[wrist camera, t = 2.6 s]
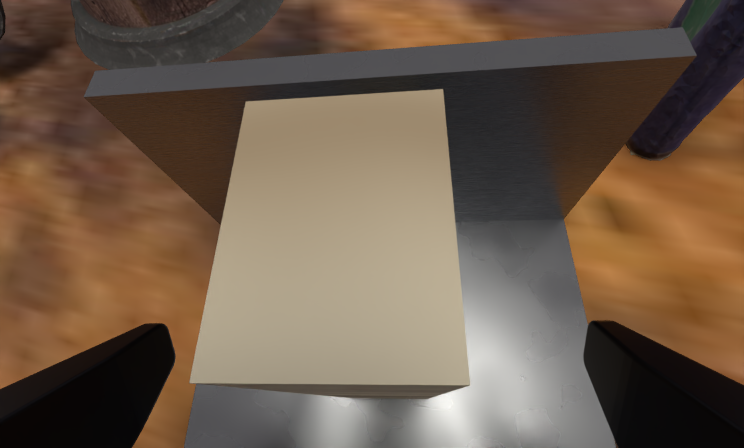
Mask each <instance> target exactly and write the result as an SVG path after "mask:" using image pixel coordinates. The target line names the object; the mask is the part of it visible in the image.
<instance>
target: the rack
mask: <svg viewBox="0 0 744 448" xmlns="http://www.w3.org/2000/svg"><path fill="white" fill-rule="evenodd" d="M696 56H697V55H696V53H695V51H694V49H693V47H692V45H691V43H690V41H689V39H688V37H687V35H686V33H685V31H684V29H683V27H681V28H667V29H654V30H640V31H627V32H613V33H600V34H586V35H573V36H560V37H546V38H533V39H519V40H506V41H492V42H479V43H465V44H452V45H438V46H425V47H411V48H398V49H384V50H371V51H357V52H344V53H330V54H317V55H303V56H290V57H276V58H263V59H250V60H236V61H223V62H209V63H196V64H182V65H169V66H155V67H142V68H128V69H115V70H101V71H95V73H94V75H93V77H92V79H91V82H90V84H89V86H88V88H87V91H86V93H85V95H84V98H85V99H86V100H87V101H88V102H90V103H91V104H92V105H93V106H94V107H95V108H96V109H97V110H98V111H99V112H100V113H101V114H102V115H104V116H105V117H106V118H107V119H108V120H109V121H110V122H111V123H112V124H113V125H114V126H115V127H116V128H117V129H119V130H120V131H121V132H122V133H123V134H124V135H125V136H126V137H127V138H128V139H129V140H130V141H131V142H132V143H134V144H135V145H136V146H137V147H138V148H139V149H140V150H141V151H142V152H143V153H144V154H145V155H146V156H147V157H149V158H150V159H151V160H152V161H153V162H154V163H155V164H156V165H157V166H158V167H159V168H160V169H161V170H163V171H164V172H165V173H166V174H167V175H168V176H169V177H170V178H171V179H172V180H173V181H174V182H175V183H176V184H178V185H179V186H180V187H181V188H182V189H183V190H184V191H185V192H186V193H187V194H188V195H189V196H190V197H191V198H193V199H194V200H195V201H196V202H197V203H198V204H199V205H200V206H201V207H202V208H203V209H204V210H205V211H207V212H208V213H209V214H210V215H211V216H212V217H213V218H214V219H215V220H216V221H217V222H218V223H219V224H220V225H221V222H222V217H223V212H224V207H225V202H226V197H227V193H228V188H229V183H230V178H231V173H232V168H233V163H234V158H235V153H236V148H237V143H238V138H239V133H240V128H241V123H242V118H243V113H244V108H245V103H246V102H248V101H263V100H279V99H295V98H311V97H326V96H342V95H358V94H373V93H389V92H405V91H421V90H436V89H443V94H444V105H445V116H446V126H447V137H448V148H449V159H450V170H451V181H452V192H453V203H454V214H455V225H456V235H457V246H458V257H459V268H460V279H461V290H462V301H463V312H464V323H465V334H466V344H467V355H468V366H469V377H470V386H467V387H464V388H460V389H457V390H454V391H451V392H448V393H445V394H442V395H439V396H436V397H433V398H430V399H381V398H344V397H333V396H322V395H312V394H301V393H290V392H279V391H268V390H258V389H247V388H236V387H225V386H215V385H204V384H196V388H195V393H194V398H193V403H192V408H191V413H190V419H189V424H188V429H187V434H186V439H185V445H184V448H616V446H615V442H614V438H613V434H612V432H611V430H610V427H609V425H608V423H607V420H606V418H605V415H604V413H603V410H602V408H601V405H600V403H599V400H598V398H597V395H596V393H595V390H594V388H593V385H592V383H591V381H590V378H589V376H588V373H587V371H586V368H585V365H584V361H583V352H584V346H585V339H586V333H587V327H588V324H587V319H586V315H585V310H584V306H583V302H582V297H581V293H580V289H579V284H578V280H577V275H576V271H575V267H574V262H573V258H572V253H571V249H570V245H569V240H568V236H567V232H566V227H565V223H564V218H565V217H566V216H567V214H568V213H569V212H570V211H571V209H572V208H573V207H574V206H575V205H576V203H577V202H578V201H579V200H580V198H581V197H582V196H583V195H584V194H585V192H586V191H587V190H588V189H589V187H590V186H591V185H592V184H593V182H594V181H595V180H596V179H597V178H598V176H599V175H600V174H601V173H602V171H603V170H604V169H605V168H606V167H607V165H608V164H609V163H610V162H611V160H612V159H613V158H614V157H615V156H616V154H617V153H618V152H619V151H620V149H621V148H622V147H623V146H624V144H625V143H626V142H627V141H628V140H629V138H630V137H631V136H632V135H633V133H634V132H635V131H636V130H637V129H638V127H639V126H640V125H641V124H642V122H643V121H644V120H645V119H646V117H647V116H648V115H649V114H650V113H651V111H652V110H653V109H654V108H655V106H656V105H657V104H658V103H659V102H660V100H661V99H662V98H663V97H664V95H665V94H666V93H667V92H668V91H669V89H670V88H671V87H672V86H673V84H674V83H675V82H676V81H677V79H678V78H679V77H680V76H681V75H682V73H683V72H684V71H685V70H686V68H687V67H688V66H689V65H690V64H691V62H692V61H693V60H694V59H695V57H696Z"/></svg>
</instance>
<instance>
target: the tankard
mask: <svg viewBox="0 0 744 448" xmlns="http://www.w3.org/2000/svg"><path fill="white" fill-rule="evenodd" d="M282 2H283V0H71V7H72V12H73V16H74V18H75V20H76V21H75V35H76V40H77V44H78V45H79V47H80V48H81V50H82V52H83V53H84V55H86V56H87V57H88V58H89V59H91V60H92V61H93V62H94V63H95V64H97V65H100V66H102V67H104V68H107V69H109V70H115V69H128V68H142V67H155V66H169V65H182V64H196V63H206V62H208V61H211V60H213V59H215V58H218V57H220V56H223V55H224V54H226V53H228V52H230V51H231V50H233V49H235V48H236V47H238V46H240V45H241V44H243V43H245V42H246V41H247V40H248V39H250V38H251V37H252V36H253V35H255V34H256V33H257V32H259V31H260V30H261V29H262V28H263V27H264V26H265V25H266V24H267V23H268V21H269V20H270V19H271V18H272V17H273V16H274V15H275V13H276V12H277V10H278V9H279V7H280V5H281V4H282ZM4 33H5V13H4V9H3V6H2V2H1V0H0V39H1V38H2V36H3V35H4Z"/></svg>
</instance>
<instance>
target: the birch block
mask: <svg viewBox="0 0 744 448" xmlns="http://www.w3.org/2000/svg"><path fill="white" fill-rule="evenodd" d="M189 383H193V384H204V385H215V386H225V387H236V388H247V389H258V390H268V391H279V392H290V393H301V394H312V395H322V396H333V397H344V398H381V399H430V398H433V397H436V396H439V395H442V394H445V393H448V392H451V391H454V390H457V389H460V388H464V387H467V386H470V377H469V366H468V355H467V344H466V334H465V323H464V312H463V301H462V290H461V279H460V268H459V257H458V246H457V235H456V225H455V214H454V203H453V192H452V181H451V170H450V159H449V148H448V137H447V126H446V116H445V105H444V94H443V89H436V90H421V91H405V92H389V93H373V94H358V95H342V96H326V97H311V98H295V99H279V100H263V101H248V102H246V103H245V108H244V113H243V118H242V123H241V128H240V133H239V138H238V143H237V148H236V153H235V158H234V163H233V168H232V173H231V178H230V183H229V188H228V193H227V197H226V202H225V207H224V212H223V217H222V222H221V227H220V232H219V237H218V242H217V247H216V252H215V257H214V262H213V267H212V272H211V277H210V282H209V287H208V292H207V297H206V302H205V307H204V312H203V317H202V322H201V327H200V332H199V337H198V342H197V347H196V352H195V357H194V362H193V367H192V372H191V377H190V382H189Z"/></svg>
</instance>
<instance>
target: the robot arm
mask: <svg viewBox="0 0 744 448" xmlns="http://www.w3.org/2000/svg"><path fill="white" fill-rule="evenodd" d="M583 361H584V365H585V368H586V371H587V373H588V376H589V378H590V381H591V383H592V385H593V388H594V390H595V393H596V395H597V398H598V400H599V403H600V405H601V408H602V410H603V413H604V415H605V418H606V420H607V423H608V425H609V427H610V430H611V432H612V434H613V437H614V439H615V441H616V443H617V445H618V447H619V448H744V385H742V384H740V383H738V382H736V381H734V380H732V379H730V378H728V377H726V376H724V375H722V374H720V373H718V372H716V371H714V370H712V369H710V368H708V367H706V366H704V365H702V364H700V363H698V362H696V361H694V360H692V359H690V358H688V357H686V356H684V355H681V354H679V353H677V352H675V351H673V350H671V349H669V348H667V347H665V346H663V345H661V344H659V343H657V342H655V341H653V340H651V339H649V338H647V337H645V336H643V335H641V334H639V333H637V332H635V331H633V330H631V329H629V328H627V327H625V326H623V325H621V324H619V323H617V322H614V321H610V320H604V321H591V322H590V323H589V325H588V327H587V333H586V339H585V346H584V352H583ZM174 363H175V351H174V347H173V344H172V340H171V337H170V334H169V330H168V328H167V326H166V325H164V324H162V323H149V324H144V325H141V326H139V327H137V328H135V329H132V330H130V331H128V332H126V333H123V334H121V335H119V336H117V337H115V338H112V339H110V340H108V341H106V342H104V343H101V344H99V345H97V346H95V347H92V348H90V349H88V350H86V351H84V352H81V353H79V354H77V355H75V356H73V357H70V358H68V359H66V360H64V361H62V362H59V363H57V364H55V365H53V366H50V367H48V368H46V369H44V370H42V371H39V372H37V373H35V374H33V375H31V376H28V377H26V378H24V379H22V380H20V381H17V382H15V383H13V384H11V385H8V386H6V387H4V388H2V389H0V448H132V447H133V445H134V443H135V442H136V440H137V438H138V436H139V435H140V433H141V431H142V429H143V427H144V425H145V423H146V421H147V419H148V417H149V415H150V413H151V411H152V409H153V407H154V405H155V403H156V401H157V399H158V397H159V395H160V393H161V391H162V389H163V386H164V384H165V382H166V380H167V378H168V376H169V374H170V372H171V370H172V368H173V366H174Z"/></svg>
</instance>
